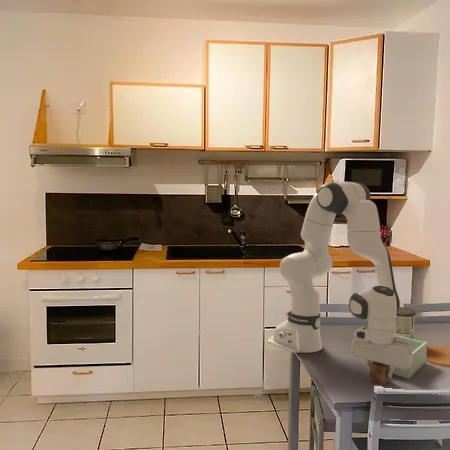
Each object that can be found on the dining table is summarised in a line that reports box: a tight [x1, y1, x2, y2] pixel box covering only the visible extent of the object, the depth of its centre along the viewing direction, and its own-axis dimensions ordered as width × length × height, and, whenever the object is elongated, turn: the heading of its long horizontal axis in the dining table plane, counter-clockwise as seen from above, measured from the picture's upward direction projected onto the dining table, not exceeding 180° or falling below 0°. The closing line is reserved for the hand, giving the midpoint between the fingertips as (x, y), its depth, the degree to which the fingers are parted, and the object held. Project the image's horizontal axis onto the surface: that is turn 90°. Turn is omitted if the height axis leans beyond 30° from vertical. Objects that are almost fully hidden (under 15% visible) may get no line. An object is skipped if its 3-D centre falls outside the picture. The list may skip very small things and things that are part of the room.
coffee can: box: [395, 306, 416, 340], centre depth 197 cm, size 10×10×14 cm
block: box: [368, 361, 391, 386], centre depth 161 cm, size 5×5×6 cm
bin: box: [370, 335, 428, 380], centre depth 174 cm, size 14×18×8 cm
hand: (379, 374), depth 161 cm, fingers closed on block, 5 cm apart
